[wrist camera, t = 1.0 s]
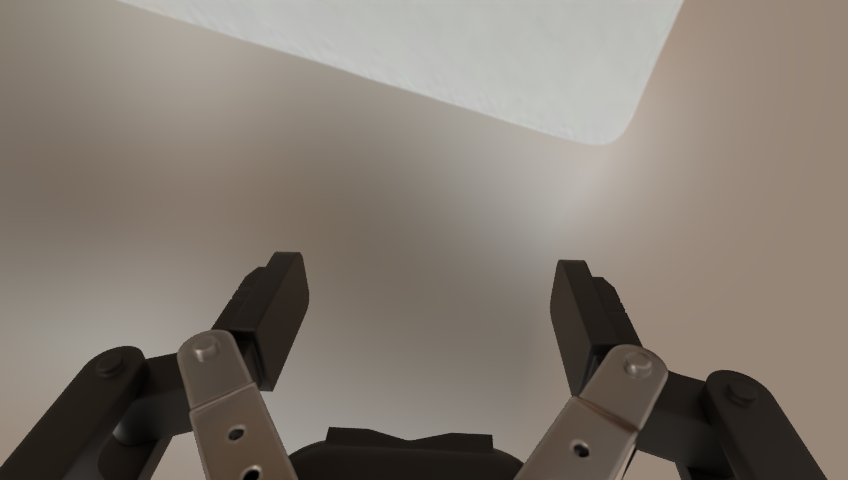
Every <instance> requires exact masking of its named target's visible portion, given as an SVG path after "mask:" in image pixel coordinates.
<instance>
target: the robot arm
mask: <svg viewBox="0 0 848 480" xmlns="http://www.w3.org/2000/svg"><path fill="white" fill-rule="evenodd" d="M308 304H309V289H308V284H307V278H306V273H305V267H304V262H303V257H302V255H301V253H300V252H275V253H274V254H273V256H272V258H271V259H270V261H269V263H268V264H267V266H266V267H258V268H256V269H255V270H254V271H252V272H251V273H250V274H248V275H247V276H246V277H245V278H244V280H243V281H242V283H241V284H240V286H239V287H238V290H236V292H235V293H234V295H233V297H232V299H231V300H230V301H229V303H228V304H227V306H226V307H225V309H224V310H223V312H222V313H221V315H220V316H219V318H218V319H217V321H216V322H215V324H214V325H213V327H212V328H211V330H209V331H205V332H202V333H199V334H197V335H195V336H193V337H191V338H190V339H188V340H187V341H186V342H185V343H184V344H183V345H182V346H181V347H180V349H179V350H178V352H177V353H174V354H169V355H164V356H159V357H154V358H149V359H145V357H144V355H143V353H142V351H141V350H140V349H138V348H136V347H132V346H122V347H116V348H113V349H110V350H107V351H105V352H103V353H101V354H99V355H97V356H96V357H94V358H93V359H91V360H90V361H89V362H88V363H87V364H86V365H85V366H84V367H83V368H82V370H81V371H80V372H79V373H78V374H77V376H76V377H75V378H74V379H73V380H72V382H71V383H70V384H69V385H68V386H67V388H66V389H65V390H64V391H63V392H62V394H61V395H60V396H59V397H58V398H57V400H56V401H55V402H54V403H53V405H52V406H51V407H50V408H49V409H48V410H47V412H46V413H45V414H44V415H43V417H42V418H41V419H40V420H39V421H38V423H37V424H36V425H35V426H34V427H33V429H32V430H31V431H30V432H29V433H28V435H27V436H26V437H25V438H24V439H23V441H22V442H21V443H20V444H19V446H18V447H17V448H16V449H15V450H14V452H13V453H12V454H11V455H10V456H9V458H8V459H7V460H6V461H5V462H4V464H3V465H2V466H1V467H0V480H150V479H151V477H152V475H153V473H154V471H155V469H156V468H157V466H158V464H159V462H160V460H161V458H162V456H163V454H164V452H165V450H166V448H167V447H168V445H169V443H170V441H171V439H172V437H173V436H175V435H178V434H183V433H187V432H191V431H193V432H194V436H195V440H196V443H197V447H198V451H199V455H200V458H201V462H202V466H203V470H204V473H205V478H206V480H623V479H624V478H625V476H626V474H627V472H628V469H629V467H630V465H631V463H632V461H633V459H634V457H635V455H636V453H637V451H638V450H640V451H643V452H645V453H649V454H651V455H655V456H657V457H660V458H663V459H667V460H669V461H672V462H675V464H676V467H677V470H678V472H679V475H680V478H681V480H827V478H826V477H825V475H824V474H823V472H822V471H821V469H820V467H819V466H818V464H817V463H816V461H815V460H814V458H813V457H812V455H811V454H810V452H809V451H808V449H807V447H806V446H805V444H804V443H803V441H802V440H801V438H800V437H799V435H798V434H797V432H796V431H795V429H794V428H793V426H792V424H791V423H790V422H789V420H788V418H787V417H786V415H785V414H784V412H783V411H782V409H781V408H780V406H779V404H778V403H777V401H776V400H775V398H774V397H773V395H772V394H771V393H770V392H769V391H768V390H767V388H765V387H764V386H763V385H762V384H760V383H759V382H758V381H756V380H755V379H753V378H751V377H749V376H747V375H744V374H741V373H739V372H735V371H730V370H719V371H715V372H713V373H711V374H710V375H709V376H708V378H707V380H706V382H705V381H701V380H697V379H694V378H690V377H687V376H683V375H680V374H677V373H674V372H671V371H669V370H668V369H667V367H666V365H665V363H664V362H663V361H662V360H661V359H660V357H658V356H657V355H656V354H655V353H653V352H651V351H650V350H647V349H645V348H643V346H642V344H641V342H640V340H639V338H638V336H637V334H636V332H635V330H634V328H633V325H632V323H631V321H630V319H629V317H628V315H627V313H625V309H624V307H623V305H622V303H620V298H619V296H618V294H617V292H616V290H615V288H614V287H613V286H612V285H611V284H609V283H608V282H607V281H606V280H605V279H604V278H603V277H592V275H591V273H590V271H589V268H588V266H587V264H586V262H585V261H584V260H559V261H558V263H557V267H556V273H555V278H554V283H553V289H552V295H551V302H550V313H551V319H552V324H553V327H554V331H555V335H556V339H557V342H558V346H559V349H560V353H561V357H562V361H563V365H564V368H565V372H566V376H567V380H568V383H569V387H570V391H571V395H572V397H571V398H570V399H569V401H568V402H567V403H566V405H565V406H564V408H563V409H562V411H561V412H560V414H559V415H558V416H557V418H556V419H555V421H554V422H553V424H552V425H551V426H550V428H549V429H548V431H547V432H546V434H545V435H544V436H543V438H542V439H541V441H540V442H539V444H538V445H537V446H536V448H535V449H534V451H533V452H532V454H531V455H530V456H529V458H528V459H527V461H526V462H525V464H524V463H523V462H521V461H520V460H519V459H517V458H515V457H513V456H512V455H510V454H508V453H505V452H503V451H501V450H498V449H495V448H493V441H492V440H493V439H492V435H486V434H464V433H448V434H444V435H438V436H432V437H428V438H422V439H417V440H404V439H400V438H397V437H394V436H390V435H387V434H384V433H380V432H377V431H374V430H370V429H359V428H338V427H337V428H336V427H329V429H328V433H327V437H326V440H325V441H320V442H316V443H313V444H310V445H308V446H306V447H303V448H301V449H299V450H297V451H296V452H294V453H292V454H291V455H289V456H288V455H287V453H286V450H285V448H284V446H283V443H282V441H281V439H280V437H279V434H278V432H277V430H276V428H275V425H274V423H273V421H272V419H271V416H270V414H269V412H268V410H267V407H266V405H265V403H264V401H263V398H262V396H261V394H260V391H273V390H274V387H275V385H276V383H277V380H278V378H279V375H280V373H281V371H282V368H283V366H284V363H285V361H286V359H287V356H288V354H289V351H290V349H291V347H292V345H293V342H294V340H295V337H296V335H297V333H298V330H299V328H300V326H301V323H302V321H303V318H304V316H305V314H306V311H307V308H308Z"/></svg>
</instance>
